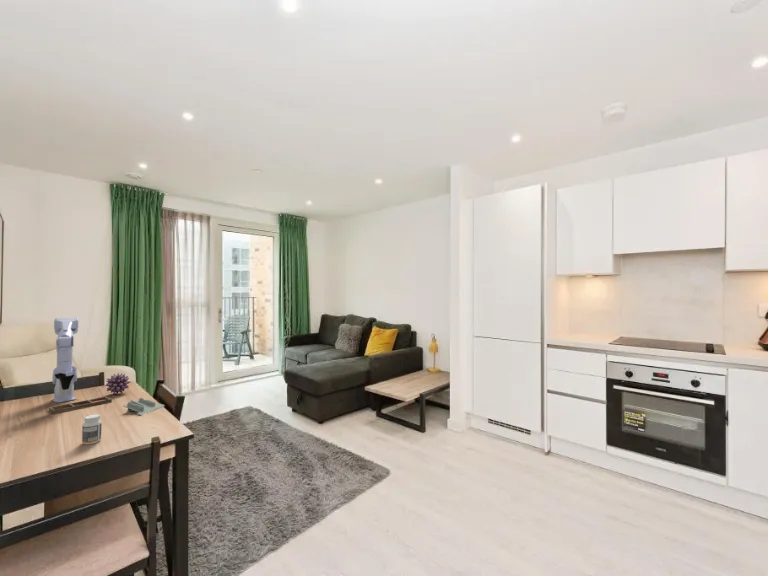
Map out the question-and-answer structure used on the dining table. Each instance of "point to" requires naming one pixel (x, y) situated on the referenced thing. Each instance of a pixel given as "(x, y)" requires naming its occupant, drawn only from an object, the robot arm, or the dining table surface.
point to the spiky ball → (117, 383)
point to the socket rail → (79, 405)
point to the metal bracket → (142, 406)
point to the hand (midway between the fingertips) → (63, 388)
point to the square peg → (60, 391)
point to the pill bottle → (91, 429)
